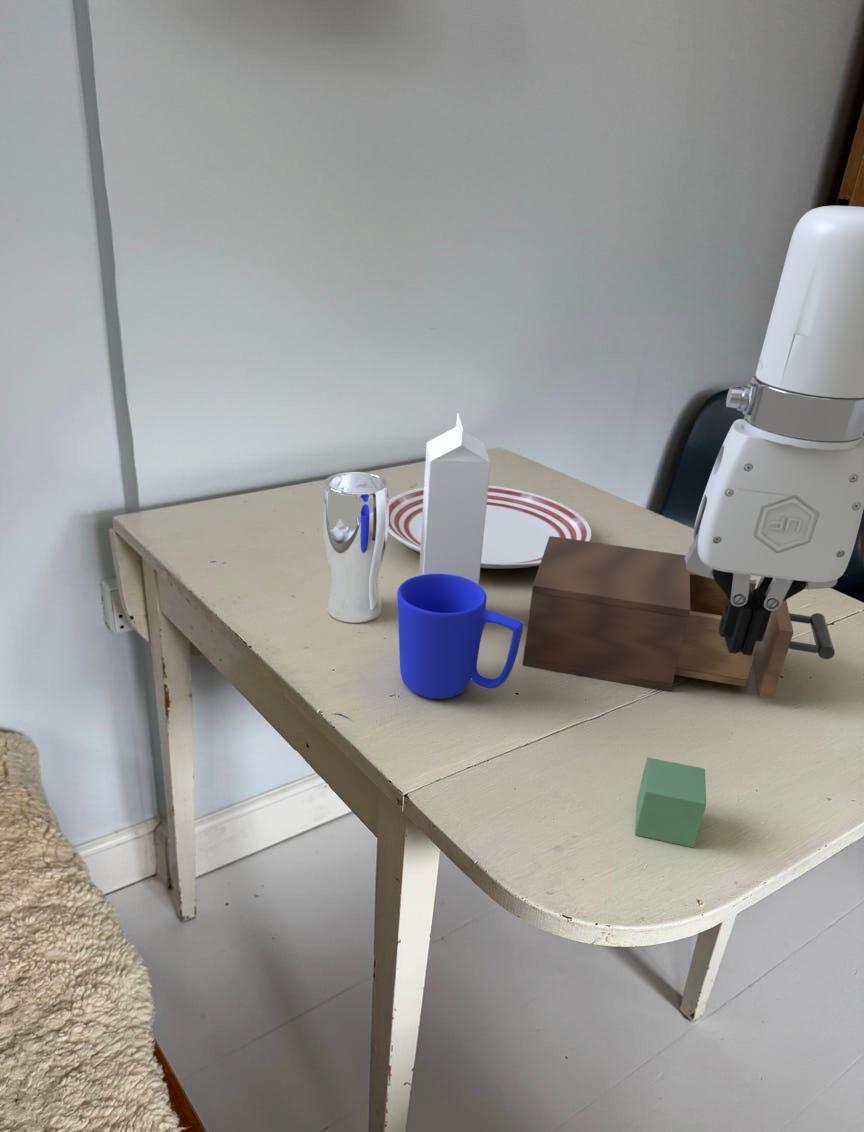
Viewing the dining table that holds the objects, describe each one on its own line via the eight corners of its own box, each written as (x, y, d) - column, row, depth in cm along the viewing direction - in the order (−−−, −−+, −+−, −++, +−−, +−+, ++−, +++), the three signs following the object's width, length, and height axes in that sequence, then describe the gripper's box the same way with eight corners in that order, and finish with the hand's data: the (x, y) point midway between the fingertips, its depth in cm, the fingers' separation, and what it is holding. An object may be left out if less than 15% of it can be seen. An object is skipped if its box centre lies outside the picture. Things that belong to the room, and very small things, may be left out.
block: (693, 811, 70) (705, 768, 68) (693, 848, 66) (706, 803, 64) (637, 799, 71) (647, 756, 69) (634, 835, 67) (645, 791, 65)
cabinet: (672, 631, 95) (689, 555, 91) (670, 691, 85) (690, 610, 80) (539, 609, 99) (549, 535, 94) (522, 665, 88) (532, 585, 84)
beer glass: (359, 631, 93) (362, 499, 85) (310, 611, 96) (308, 482, 89) (397, 608, 98) (403, 481, 90) (349, 589, 101) (351, 466, 94)
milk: (419, 629, 94) (430, 429, 83) (417, 603, 99) (426, 411, 88) (475, 630, 94) (494, 430, 83) (470, 603, 99) (486, 412, 88)
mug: (494, 730, 78) (505, 635, 73) (377, 691, 83) (381, 599, 78) (527, 687, 85) (539, 596, 79) (416, 653, 89) (422, 565, 84)
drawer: (808, 648, 91) (829, 586, 87) (823, 707, 82) (847, 640, 78) (633, 620, 95) (645, 559, 92) (628, 673, 86) (641, 608, 82)
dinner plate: (487, 489, 131) (489, 467, 130) (632, 552, 113) (637, 529, 111) (338, 528, 116) (338, 505, 115) (477, 609, 98) (480, 583, 96)
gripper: (699, 416, 56) (642, 657, 65) (945, 439, 54) (851, 684, 64) (685, 388, 63) (635, 611, 72) (905, 407, 61) (824, 634, 70)
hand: (736, 645), depth 68 cm, fingers closed
